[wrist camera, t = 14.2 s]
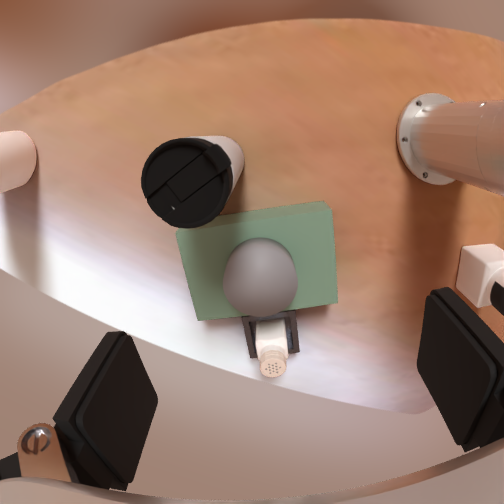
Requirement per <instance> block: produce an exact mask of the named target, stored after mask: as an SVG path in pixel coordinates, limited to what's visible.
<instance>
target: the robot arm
mask: <svg viewBox="0 0 504 504" xmlns="http://www.w3.org/2000/svg"><path fill="white" fill-rule="evenodd" d="M416 103H417V105H416ZM402 138H403V139H404V141H403V142H402ZM397 144H398V149H399V152H400V155H401V157H402V160H403V162H404V163H405V165H406V167H407V168H408V169H409V170H410V171H411V173H412V174H414V175H415V176H416V177H417V178H419V179H421V180H422V181H424V182H427V183H430V184H434V185H445V184H448V183H452V182H453V181H455V180H458V181H461V182H464V183H467V184H470V185H473V186H476V187H479V188H482V189H485V190H487V191H490V192H493V193H496V194H498V195H501V196H504V100H492V101H471V102H455V101H453V100H452V99H450V98H449V97H447V96H444V95H442V94H437V93H428V94H423V95H419V96H417V97H415V98H413V99H412V100H411V101H410V102H408V104H407V105H406V106H405V107H404V109H403V111H402V113H401V115H400V117H399V121H398V124H397ZM423 173H424V175H423ZM417 369H418V372H419V374H420V375H421V377H422V379H423V381H424V383H425V385H426V386H427V388H428V390H429V392H430V394H431V396H432V397H433V399H434V401H435V403H436V405H437V407H438V409H439V411H440V413H441V415H442V417H443V418H444V421H445V423H446V425H447V426H448V429H449V430H450V433H451V435H452V436H453V439H454V441H455V443H456V444H457V445H461V446H462V448H463V450H464V452H467V451H470V450H472V449H474V448H476V447H480V448H479V449H477V450H475V451H472V452H470V453H468V454H465V455H462V456H460V457H457V458H455V459H452V460H449V461H446V462H444V463H441V464H438V465H435V466H432V467H430V468H427V469H424V470H420V471H417V472H414V473H411V474H408V475H404V476H401V477H397V478H393V479H390V480H386V481H382V482H378V483H374V484H369V485H365V486H360V487H355V488H350V489H345V490H340V491H334V492H328V493H322V494H315V495H307V496H300V497H289V498H280V499H279V498H278V499H264V500H236V501H219V500H216V501H215V500H213V501H212V500H190V499H189V500H187V499H175V498H163V497H155V496H146V495H139V494H132V493H126V492H118V491H113V490H109V488H112V489H117V490H122V491H126V489H127V486H128V483H131V482H132V481H133V479H134V476H135V473H136V469H137V466H138V463H139V460H140V457H141V453H142V450H143V447H144V444H145V441H146V438H147V435H148V431H149V428H150V425H151V422H152V419H153V416H154V413H155V410H156V407H157V404H158V398H157V394H156V392H155V390H154V387H153V385H152V383H151V381H150V379H149V376H148V374H147V372H146V370H145V368H144V365H143V363H142V361H141V358H140V356H139V354H138V351H137V349H136V346H135V344H134V342H133V339H132V337H131V336H129V335H127V334H126V333H125V332H124V331H118V332H107V333H106V335H105V336H104V337H103V339H102V340H101V342H100V343H99V345H98V346H97V348H96V349H95V351H94V353H93V354H92V356H91V357H90V359H89V360H88V362H87V363H86V365H85V366H84V368H83V369H82V371H81V373H80V374H79V376H78V377H77V379H76V380H75V382H74V384H73V385H72V387H71V388H70V390H69V392H68V393H67V395H66V397H65V398H64V400H63V401H62V403H61V405H60V407H59V408H58V410H57V412H56V413H55V415H54V417H53V420H54V421H55V423H56V424H55V426H54V428H53V427H52V426H51V425H50V424H46V423H38V424H34V425H32V426H30V427H28V428H27V429H26V430H25V431H24V432H23V433H22V434H21V436H20V437H19V440H18V443H17V450H18V452H16V453H14V454H12V455H10V456H8V457H6V458H3V459H1V460H0V504H504V343H503V342H502V341H501V340H500V339H499V338H498V336H497V335H496V334H495V333H494V332H493V331H492V330H491V329H490V328H489V327H488V326H487V325H486V324H485V323H484V322H483V320H482V319H481V318H480V317H479V316H478V315H477V314H476V313H475V312H474V311H473V310H472V309H471V308H470V307H469V306H468V305H467V304H466V303H465V302H464V301H463V300H462V299H461V298H460V297H459V296H458V295H457V294H456V293H455V292H454V291H453V290H452V289H451V288H449V287H444V288H440V289H435V290H432V291H431V293H430V295H429V296H427V298H426V302H425V311H424V319H423V327H422V334H421V340H420V346H419V352H418V358H417Z"/></svg>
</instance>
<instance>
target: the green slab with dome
mask: <svg viewBox="0 0 504 504" xmlns="http://www.w3.org/2000/svg"><path fill="white" fill-rule="evenodd" d="M176 237H177V242H178V246H179V250H180V254H181V258H182V262H183V266H184V270H185V274H186V278H187V282H188V286H189V290H190V293H191V297H192V301H193V305H194V308H195V312H196V316H197V319H198V321H202V320H212V319H221V318H230V317H239V316H248V315H250V316H255V317H266V316H271V315H274V314H277V313H279V312H281V311H287V310H294V309H301V308H308V307H315V306H321V305H328V304H334V303H338V294H337V273H336V256H335V242H334V229H333V217H332V210H331V208H330V207H329V206H328V205H327V204H326V203H325V202H324V201H319V202H311V203H303V204H296V205H289V206H281V207H274V208H267V209H260V210H253V211H247V212H240V213H233V214H227V215H220V216H217V217H216V218H215V219H213V220H212V221H211V222H209V223H207V224H206V225H203V226H200V227H197V228H190V229H185V228H179V229H178V230H177V231H176Z"/></svg>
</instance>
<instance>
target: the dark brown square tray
mask: <svg viewBox="0 0 504 504" xmlns="http://www.w3.org/2000/svg"><path fill="white" fill-rule="evenodd" d="M282 317H284V321H285V329H286V338H287V347H288V354H290V353H298V352H300V350H299V340H298V331H297V321H296V312H295V309H294V310H287V311H281V312H279V313H277V314H274V315H271V316H266V317H255V316H250V315H248V316H242V321H243V326H244V331H245V336H246V340H247V345H248V350H249V355H250V358H257V357H258V356H257V350H256V321H258V320H266V319H274V318H282Z"/></svg>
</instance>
